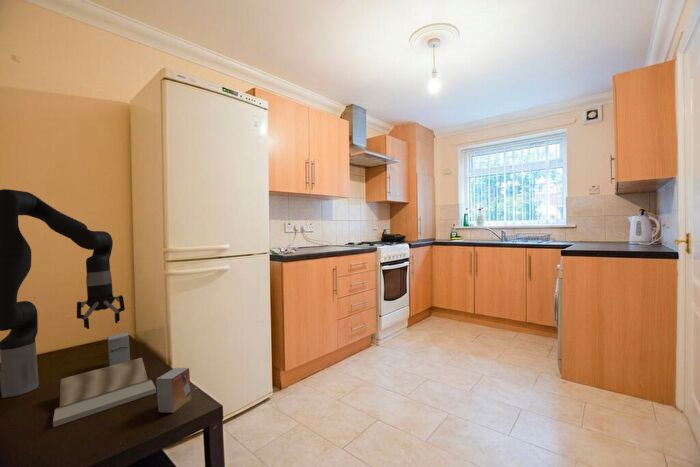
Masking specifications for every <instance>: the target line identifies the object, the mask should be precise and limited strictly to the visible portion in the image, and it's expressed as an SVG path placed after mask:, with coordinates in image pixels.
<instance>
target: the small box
mask: <svg viewBox="0 0 700 467" xmlns="http://www.w3.org/2000/svg"><path fill="white" fill-rule="evenodd" d="M190 378H191V376H190V367H174V368H172V369H171V370H169V371H168V372H165V373H163V374H162V375H160V376H158V377H156V378H155V380H156V382H155V383H156V394H157V396H156V397H157V409H158V412H159V413H170V414H171V413H175V412H176V411H177V410H179V409H180V408H181V407H183V406H185V405H186V404H187V403H188V402H190V401H191V400H192V393H191V392H192V391H191V379H190Z"/></svg>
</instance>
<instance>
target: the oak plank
mask: <svg viewBox="0 0 700 467" xmlns="http://www.w3.org/2000/svg"><path fill="white" fill-rule="evenodd" d="M147 380H149V378H148V375H147V372H146V368H145V363H144V361H143V358H142V357H138V358H135V359H132V360H131V359H130V361H127V362H123V363H120V364H116V365H112V366H110V365H109V366H108V365H107V366H105V367H102V368H98V369H97V368H96V369H93V370H89V371H87V372H82V373H78V374H75V375H72V376H71V375H70V376H68V377H64V378H63V377H62V378H60V388H59V390H60V391H59V407H62V406H65V405H68V404H72V403H75V402H78V401H81V400H85V399H88V398H91V397H94V396H98V395H101V394H104V393H108V392H111V391H114V390H117V389H121V388H124V387H127V386H130V385H134V384H137V383H140V382H143V381H147Z"/></svg>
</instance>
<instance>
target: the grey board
mask: <svg viewBox="0 0 700 467" xmlns="http://www.w3.org/2000/svg"><path fill="white" fill-rule="evenodd" d="M153 394H157V387H156V385H155V384H154V382H153V380H152V379H148V380H147V381H143V382H140V383H137V384H134V385H130V386H127V387H124V388H121V389H117V390H114V391H111V392H108V393H104V394H101V395H98V396H94V397H91V398H88V399H85V400H81V401H78V402H75V403H72V404H68V405H65V406H62V407H60V406H59V407H56V408H55V409H54V414H53V420H52V425H53V426H52V428H54V427H55V428H56V427H58V426H60V425H64V424H67V423H70V422H73V421H76V420H79V419H82V418H84V417H87V416H91V415H94V414H97V413H101V412H103V411H105V410H108V409H112V408H115V407H117V406H121V405H124V404H126V403H129V402H132V401H135V400H139V399H141V398H144V397H147V396H150V395H153Z"/></svg>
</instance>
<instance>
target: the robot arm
mask: <svg viewBox="0 0 700 467" xmlns="http://www.w3.org/2000/svg"><path fill="white" fill-rule="evenodd" d="M19 216H28V217H31V218H35V219H38V220H39V221H42V222H44V223H45V224H46V225H47V226H48V228H50V229H51V230H52V231H53V232H55V233H58V234H59V235H61V236H64V237H65V238H67V239H70V240H71V241H72V242H73V243H74V244H76V245H77V246H78V247H80V248H82V249H85V250H89V251H90V250H91V251H92V255H91V256H88V257H87V258H86V260H85V269H86V278H85V281H86V282H85V283H86V294H87V295H86V296H87V299H86V301H85V300H84V301H77V302H76V319H81V320H83V327H84V329H87V330H89V329H90V318H89V317H90V315H92V314H93V312H94V311H96V312H98V311H101V310H102V311H103V310H108V309H110V310H111V311H113V312H114V322H115V324H118V323H119V322H120V320H121V318H120V317H121V316H120V313H122V312H124V311H125V310H126V306H125V300H124V296H123V294H122V295H121V294H120V295H118V296H114V292H113V279H112V273H111V265H110V263H111V262H110V259H111V255H112V249H113V245H114V244H113V238H112V236H111V234H110V233H109V232H107V231H104V230H103V231H102V230H92V229H88V226H87V225H86V224H85V223H83V222H81V221H79V220H77V219H75V218H73V217H70V216H69V215H67V214H64V213H63V212H61V211H58V210H57V209H55V208H54V207H52V206H51V205H49V204H48V203H46V202H45V201H43V200H42V199H41V198H39V197H37V196H36V195H34V194H33V193H31V192H28V191H23V190H16V189H11V188H10V189H8V188H7V189H6V188H4V189H0V332H7V331H9V330H10V331H9V333H8V334H7V335H6V336H5V337H4V338H3V339H1V340H0V390H1V391H0V392H1V399H4V398H5V399H6V398H11V397H16V396H21V395H24V394H27V393H30V392H31V391H34V390H36V389H37V388H38V387H39V386H40V385H39V369H38V358H37V345H36V344H37V343H36V342H37V341H36V337H37V335H38V333H39V332H38V330H39V328H38V327H39V326H38V325H39V324H38V322H39V319H38V318H39V317H38V316H39V314H38V310H37V307H36V305H35V304H34V303H33V302H32V301H27V300H23V301H18V294H19V290H20V288H21V286H22V284H23V282H24V281H25V279H26V278H27V276H28V275H29V273H30V271H31V268H32V248H31V247H30V245H29V243H28V241H27V240H26V238H25V237H24V235H23V234H22V232H21V230H20V227H19ZM115 300H116V302H119V308H117V307H115V306H114V305H113V303H114V302H115ZM85 305H86V306H87V307H89V308H88V309H87V311H86V312H85V313H84V314H82V309H83V308H84V306H85Z"/></svg>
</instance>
